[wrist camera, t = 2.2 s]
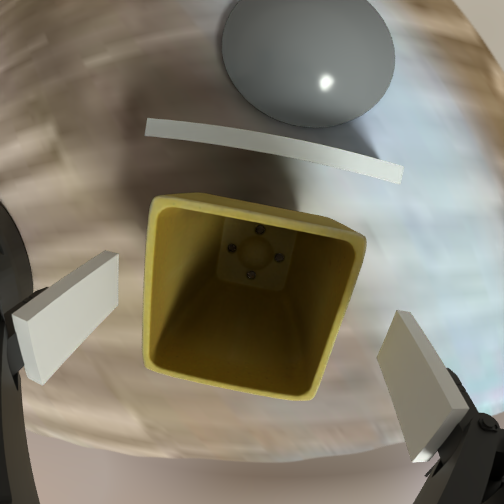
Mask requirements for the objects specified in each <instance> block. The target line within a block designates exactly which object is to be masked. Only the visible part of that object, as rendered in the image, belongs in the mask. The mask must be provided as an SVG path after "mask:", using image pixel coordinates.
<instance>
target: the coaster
mask: <svg viewBox="0 0 504 504" xmlns="http://www.w3.org/2000/svg"><path fill="white" fill-rule="evenodd" d="M222 54H223V60H224V64H225V67H226V70H227V72H228V74H229V76H230V78H231V80H232V82H233V83H234V85H235V86H236V88H237V89H238V91H239V92H240V93H241V94H242V95H243V97H244V98H245V99H246V100H247V101H248V102H249V103H251V104H252V105H253V106H254V107H255V108H257V109H258V110H260V111H261V112H263V113H264V114H266V115H268V116H270V117H272V118H273V119H276V120H279V121H281V122H284V123H287V124H291V125H295V126H301V127H311V128H320V127H330V126H335V125H339V124H342V123H345V122H348V121H351V120H353V119H355V118H357V117H359V116H361V115H363V114H364V113H366V112H367V111H369V110H370V109H371V108H372V107H374V106H375V105H376V104H377V103H378V102H379V100H380V99H381V98H382V97H383V95H384V94H385V92H386V90H387V89H388V87H389V85H390V82H391V80H392V77H393V72H394V67H395V51H394V45H393V41H392V37H391V35H390V32H389V29H388V27H387V26H386V24H385V22H384V20H383V19H382V17H381V16H380V14H379V13H378V12H377V11H376V9H375V8H374V7H373V6H372V5H371V4H370V3H369V2H368V1H366V0H240V2H239V3H238V4H237V5H236V6H235V8H234V9H233V10H232V12H231V13H230V15H229V17H228V19H227V21H226V24H225V28H224V31H223V37H222Z"/></svg>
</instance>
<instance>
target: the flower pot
mask: <svg viewBox="0 0 504 504" xmlns="http://www.w3.org/2000/svg"><path fill="white" fill-rule="evenodd" d="M259 225H261V226H263V227H264V229H265V230H264V232H263V233H262V234H259V233H257V231H256V228H257V226H259ZM230 244H234V245H235V246H236V250H235V251H233V252H231V251H229V249H228V246H229V245H230ZM365 251H366V238H365V236H363V235H362V234H360V233H358V232H356V231H354V230H352V229H350V228H348V227H347V226H345V225H343V224H341V223H339V222H337V221H335V220H333V219H330V218H328V217H323V216H319V215H314V214H308V213H303V212H298V211H293V210H288V209H282V208H277V207H272V206H267V205H262V204H257V203H252V202H247V201H242V200H237V199H231V198H226V197H221V196H216V195H212V194H207V193H200V192H198V193H179V194H169V195H159V196H156V197H154V198H153V200H152V202H151V204H150V209H149V215H148V227H147V237H146V249H145V268H144V286H143V320H142V355H143V361H144V365H145V367H146V368H148V369H150V370H152V371H155V372H158V373H161V374H165V375H168V376H172V377H175V378H180V379H185V380H189V381H193V382H197V383H202V384H206V385H211V386H216V387H220V388H226V389H230V390H235V391H240V392H246V393H251V394H255V395H260V396H266V397H272V398H278V399H286V400H293V401H306V400H311V399H313V397H314V396H315V394H316V392H317V390H318V387H319V385H320V382H321V379H322V376H323V374H324V371H325V368H326V365H327V363H328V360H329V357H330V354H331V351H332V348H333V345H334V343H335V339H336V337H337V334H338V331H339V328H340V326H341V323H342V320H343V317H344V315H345V312H346V309H347V307H348V304H349V301H350V298H351V295H352V292H353V290H354V287H355V284H356V280H357V278H358V275H359V272H360V269H361V266H362V263H363V259H364V256H365ZM279 253H280V254H282V255H283V257H284V258H283V260H282V261H277V260H276V259H275V256H276V254H279ZM249 271H253V272H255V274H256V275H255V277H254V278H249V277H248V275H247V273H248V272H249Z"/></svg>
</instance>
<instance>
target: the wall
mask: <svg viewBox="0 0 504 504" xmlns="http://www.w3.org/2000/svg"><path fill="white" fill-rule="evenodd" d="M145 136H152V137H161V138H170V139H179V140H187V141H195V142H202V143H209V144H216V145H222V146H229V147H235V148H241V149H247V150H253V151H258V152H264V153H269V154H275V155H280V156H285V157H290V158H295V159H300V160H304V161H309V162H313V163H318V164H322V165H327V166H331V167H335V168H339V169H344V170H348V171H352V172H356V173H359V174H363V175H367V176H371V177H375V178H378V179H382V180H386V181H389V182H393V183H396V184H400V183H401V179H402V174H403V170H404V167H403V166H400V165H396V164H393V163H390V162H386V161H383V160H379V159H376V158H372V157H368V156H365V155H361V154H357V153H353V152H350V151H346V150H342V149H338V148H333V147H329V146H325V145H321V144H316V143H312V142H307V141H303V140H298V139H293V138H288V137H283V136H278V135H273V134H267V133H261V132H256V131H250V130H244V129H237V128H231V127H224V126H217V125H209V124H202V123H193V122H185V121H175V120H165V119H153V118H147V123H146V130H145Z"/></svg>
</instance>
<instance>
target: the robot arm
mask: <svg viewBox="0 0 504 504" xmlns="http://www.w3.org/2000/svg"><path fill="white" fill-rule="evenodd" d="M118 261H119V254H118V253H114V252H110V251H106V250H105V251H103V252H102V253H100V254H99V255H97V256H96V257H94V258H92V259H91V260H89V261H88V262H86V263H85V264H83V265H82V266H80V267H79V268H77V269H76V270H74V271H73V272H71V273H70V274H68V275H67V276H65V277H64V278H62V279H61V280H59V281H58V282H56V283H55V284H53V285H52V286H50V287H46V288H43V289H40V290H37V291H35V292H34V293H33V281H32V274H31V269H30V265H29V261H28V257H27V254H26V251H25V248H24V245H23V242H22V240H21V237H20V235H19V233H18V231H17V229H16V227H15V225H14V223H13V221H12V219H11V218H10V216H9V215H8V213H7V212H6V211H5V209H4V208H3V207H2V206H1V205H0V504H40V502H39V498H38V494H37V490H36V486H35V482H34V478H33V473H32V468H31V463H30V458H29V452H28V446H27V439H26V432H25V424H24V416H23V406H22V393H21V378H20V374H19V370H20V369H21V368H22V367H23V366H24V367H25V370H26V374H27V377H28V378H29V379H31V380H33V381H35V382H37V383H39V384H41V385H44V384H45V383H46V382H47V380H48V379H49V378H50V377H51V376H52V375H53V374H54V373H55V371H56V370H57V369H58V368H59V367H60V366H61V365H62V364H63V363H64V362H65V360H66V359H67V358H68V357H69V356H70V355H71V354H72V353H73V352H74V351H75V350H76V349H77V347H78V346H79V345H80V344H81V343H82V342H83V341H84V340H85V339H86V338H87V337H88V336H89V335H90V334H91V333H92V332H93V331H94V329H95V328H96V327H97V326H98V325H99V324H100V323H101V322H102V321H103V320H104V319H105V318H106V317H107V316H108V315H109V314H110V313H111V312H112V311H113V310H114V309H115V308H116V307H117V306H118ZM377 360H378V362H379V365H380V368H381V371H382V373H383V376H384V379H385V382H386V384H387V387H388V390H389V393H390V396H391V399H392V402H393V405H394V408H395V411H396V414H397V417H398V420H399V423H400V426H401V429H402V432H403V435H404V438H405V442H406V445H407V448H408V451H409V455H410V458H411V461H412V462H424V461H429V460H430V459H431V458H432V457H433V456H434V454H435V453H436V452H437V451H438V453H439V456H440V459H439V460H438V462H437V463H436V464H435V465H434V466H433V467H432V468H431V469H430V470H429V471H428V472H427V473H426V475H425V476H426V477H427V476H428V475H429V474H430V475H429V477H428V479H427V480H426V482H425V484H424V486H423V488H422V489H421V491H420V493H419V494H418V496H417V498H416V499H415V501H414V503H413V504H504V429H500V427H499V424H498V422H497V421H496V420H495V419H494V418H493V417H491V416H490V415H488V414H485V413H479V412H478V411H477V409H476V407H475V405H474V404H473V402H472V400H471V398H470V397H469V395H468V393H467V392H466V390H465V388H464V387H463V386H462V383H461V382H460V380H459V378H458V377H457V375H456V374H455V373H453V372H452V371H451V370H450V369H449V368H446V367H445V365H444V364H443V362H442V360H441V359H440V357H439V356H438V354H437V352H436V351H435V349H434V348H433V346H432V344H431V343H430V341H429V340H428V338H427V337H426V335H425V334H424V332H423V330H422V329H421V327H420V326H419V324H418V323H417V321H416V320H415V318H414V317H413V315H412V314H411V312H406V311H400V310H397V311H396V313H395V316H394V318H393V321H392V323H391V326H390V328H389V330H388V333H387V335H386V338H385V340H384V342H383V345H382V347H381V349H380V351H379V354H378V356H377Z"/></svg>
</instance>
